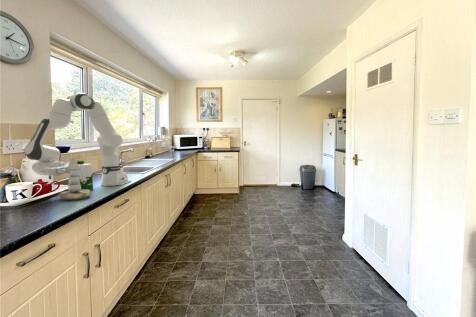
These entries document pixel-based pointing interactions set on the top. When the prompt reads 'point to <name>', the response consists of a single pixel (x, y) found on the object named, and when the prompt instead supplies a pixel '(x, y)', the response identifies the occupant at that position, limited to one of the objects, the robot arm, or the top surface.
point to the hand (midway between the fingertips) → (72, 170)
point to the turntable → (74, 194)
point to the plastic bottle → (73, 176)
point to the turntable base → (75, 199)
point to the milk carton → (85, 175)
